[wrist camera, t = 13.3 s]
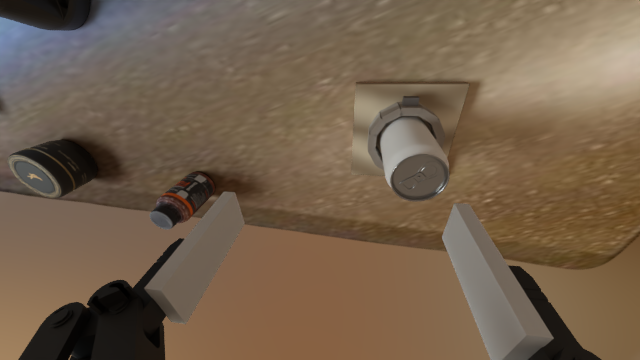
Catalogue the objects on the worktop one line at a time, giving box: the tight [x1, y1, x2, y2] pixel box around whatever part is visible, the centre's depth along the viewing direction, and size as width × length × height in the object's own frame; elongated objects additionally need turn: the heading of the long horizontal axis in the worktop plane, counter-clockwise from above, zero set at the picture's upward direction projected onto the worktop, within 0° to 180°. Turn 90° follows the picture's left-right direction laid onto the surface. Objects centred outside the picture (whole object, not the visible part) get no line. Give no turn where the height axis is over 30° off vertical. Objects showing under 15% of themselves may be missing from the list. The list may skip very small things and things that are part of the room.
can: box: [380, 116, 450, 201], centre depth 28 cm, size 6×6×12 cm
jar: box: [8, 140, 97, 198], centre depth 45 cm, size 10×10×8 cm
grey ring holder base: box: [351, 82, 470, 176], centre depth 32 cm, size 14×14×4 cm
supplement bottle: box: [150, 172, 215, 229], centre depth 42 cm, size 6×6×11 cm
